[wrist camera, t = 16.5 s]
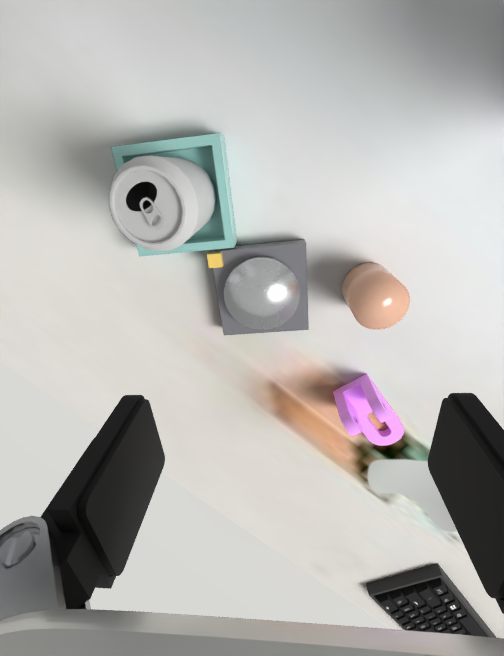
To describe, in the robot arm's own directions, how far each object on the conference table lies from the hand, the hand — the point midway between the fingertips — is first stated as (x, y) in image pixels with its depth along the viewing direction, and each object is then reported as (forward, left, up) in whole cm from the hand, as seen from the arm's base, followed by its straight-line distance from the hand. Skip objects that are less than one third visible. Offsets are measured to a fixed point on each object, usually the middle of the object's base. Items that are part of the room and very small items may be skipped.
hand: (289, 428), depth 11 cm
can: (+10, -6, -31) cm, 33 cm away
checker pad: (+2, +6, -29) cm, 30 cm away
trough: (+10, -5, -31) cm, 33 cm away
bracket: (-12, +27, -32) cm, 44 cm away
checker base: (+2, +6, -31) cm, 32 cm away
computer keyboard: (-32, +92, -32) cm, 103 cm away
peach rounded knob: (-11, +7, -31) cm, 34 cm away
